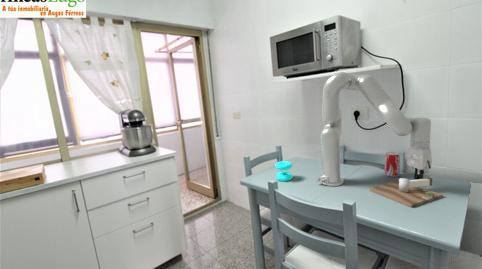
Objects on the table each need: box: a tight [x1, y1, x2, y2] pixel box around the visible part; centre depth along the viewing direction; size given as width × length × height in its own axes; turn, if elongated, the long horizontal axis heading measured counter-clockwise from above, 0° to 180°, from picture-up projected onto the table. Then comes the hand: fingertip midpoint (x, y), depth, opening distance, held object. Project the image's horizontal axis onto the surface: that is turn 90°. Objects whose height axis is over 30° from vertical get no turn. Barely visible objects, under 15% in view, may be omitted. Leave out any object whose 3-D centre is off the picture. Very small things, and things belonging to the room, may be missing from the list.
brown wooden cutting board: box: [368, 179, 444, 209], centre depth 115 cm, size 21×21×2 cm
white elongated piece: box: [398, 177, 433, 192], centre depth 114 cm, size 15×4×5 cm, turn 93°
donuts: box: [275, 160, 294, 182], centre depth 146 cm, size 10×10×10 cm
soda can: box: [384, 151, 401, 178], centre depth 137 cm, size 7×7×13 cm
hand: (418, 181), depth 117 cm, fingers closed
